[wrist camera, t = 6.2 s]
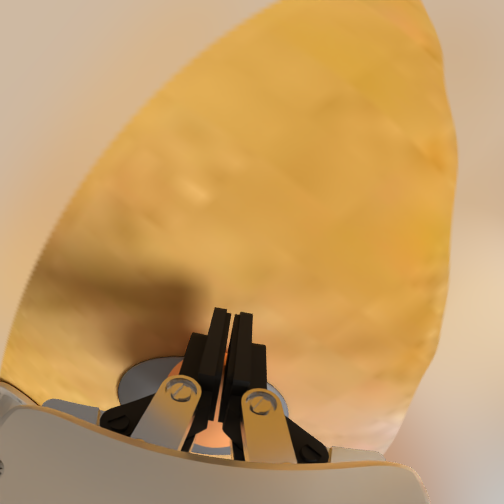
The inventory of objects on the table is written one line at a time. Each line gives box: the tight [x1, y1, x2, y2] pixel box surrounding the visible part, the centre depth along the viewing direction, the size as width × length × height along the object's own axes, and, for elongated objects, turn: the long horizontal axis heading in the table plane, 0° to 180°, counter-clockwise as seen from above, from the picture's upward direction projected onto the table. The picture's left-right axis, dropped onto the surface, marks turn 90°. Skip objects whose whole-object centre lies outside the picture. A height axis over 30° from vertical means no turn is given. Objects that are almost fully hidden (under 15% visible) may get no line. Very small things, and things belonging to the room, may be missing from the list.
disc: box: [118, 357, 289, 455], centre depth 17 cm, size 13×13×1 cm
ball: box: [167, 353, 230, 448], centre depth 13 cm, size 6×6×6 cm
